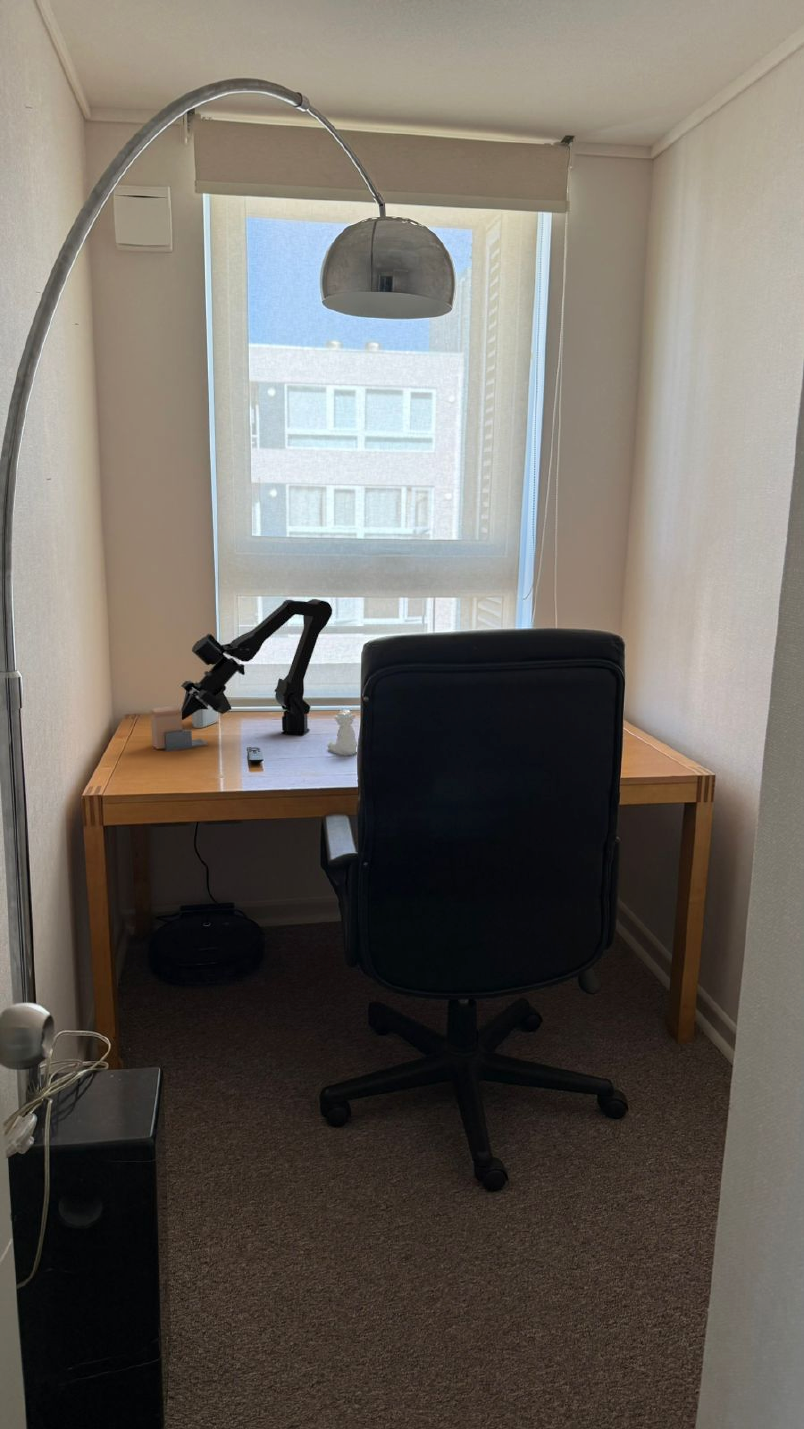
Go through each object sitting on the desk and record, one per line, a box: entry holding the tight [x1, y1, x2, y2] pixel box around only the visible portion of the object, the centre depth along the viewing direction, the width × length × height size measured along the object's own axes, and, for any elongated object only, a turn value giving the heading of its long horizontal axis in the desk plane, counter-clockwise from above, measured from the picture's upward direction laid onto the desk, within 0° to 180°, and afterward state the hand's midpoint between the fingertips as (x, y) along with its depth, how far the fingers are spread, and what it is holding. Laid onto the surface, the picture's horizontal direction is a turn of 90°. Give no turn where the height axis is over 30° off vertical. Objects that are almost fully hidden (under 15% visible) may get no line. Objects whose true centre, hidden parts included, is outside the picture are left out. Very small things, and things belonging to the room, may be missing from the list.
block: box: [150, 705, 183, 750], centre depth 258 cm, size 7×5×10 cm
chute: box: [162, 723, 208, 752], centre depth 260 cm, size 12×8×5 cm
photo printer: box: [191, 705, 220, 729], centre depth 284 cm, size 10×4×12 cm, turn 160°
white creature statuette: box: [327, 709, 358, 757], centre depth 254 cm, size 10×9×12 cm
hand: (180, 719), depth 259 cm, fingers closed
